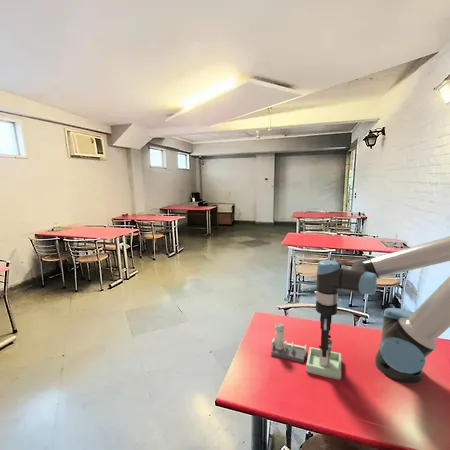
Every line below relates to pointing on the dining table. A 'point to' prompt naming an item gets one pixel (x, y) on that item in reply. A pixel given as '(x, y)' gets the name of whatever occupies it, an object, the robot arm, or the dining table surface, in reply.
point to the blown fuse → (328, 354)
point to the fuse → (279, 337)
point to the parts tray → (330, 371)
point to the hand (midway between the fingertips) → (324, 358)
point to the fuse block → (290, 351)
